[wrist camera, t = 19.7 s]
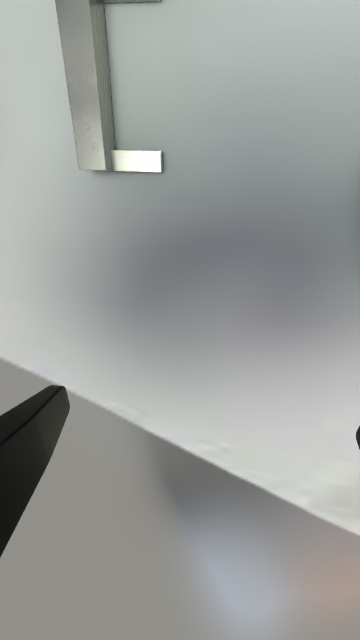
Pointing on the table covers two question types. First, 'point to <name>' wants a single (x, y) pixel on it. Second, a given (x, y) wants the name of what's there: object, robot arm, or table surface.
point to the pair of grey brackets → (94, 89)
